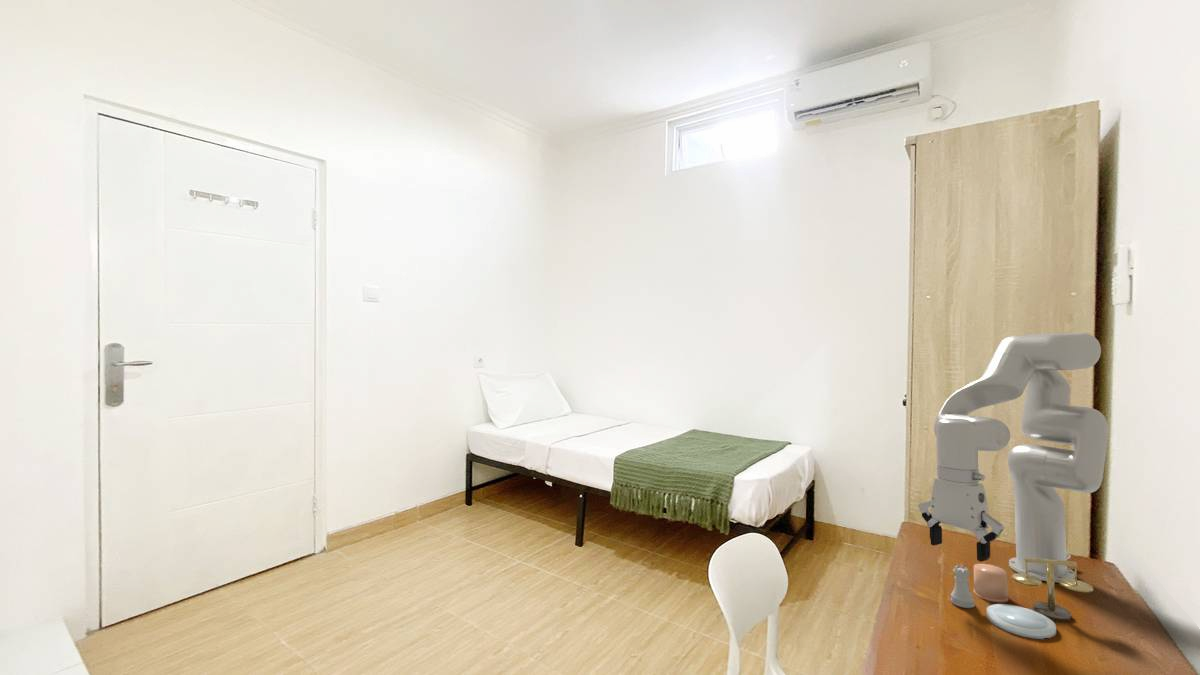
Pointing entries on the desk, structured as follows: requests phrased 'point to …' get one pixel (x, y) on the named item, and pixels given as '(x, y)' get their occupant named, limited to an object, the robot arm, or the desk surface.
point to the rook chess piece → (962, 588)
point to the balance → (1052, 588)
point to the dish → (1021, 621)
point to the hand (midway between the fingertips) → (958, 551)
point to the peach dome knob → (990, 583)
